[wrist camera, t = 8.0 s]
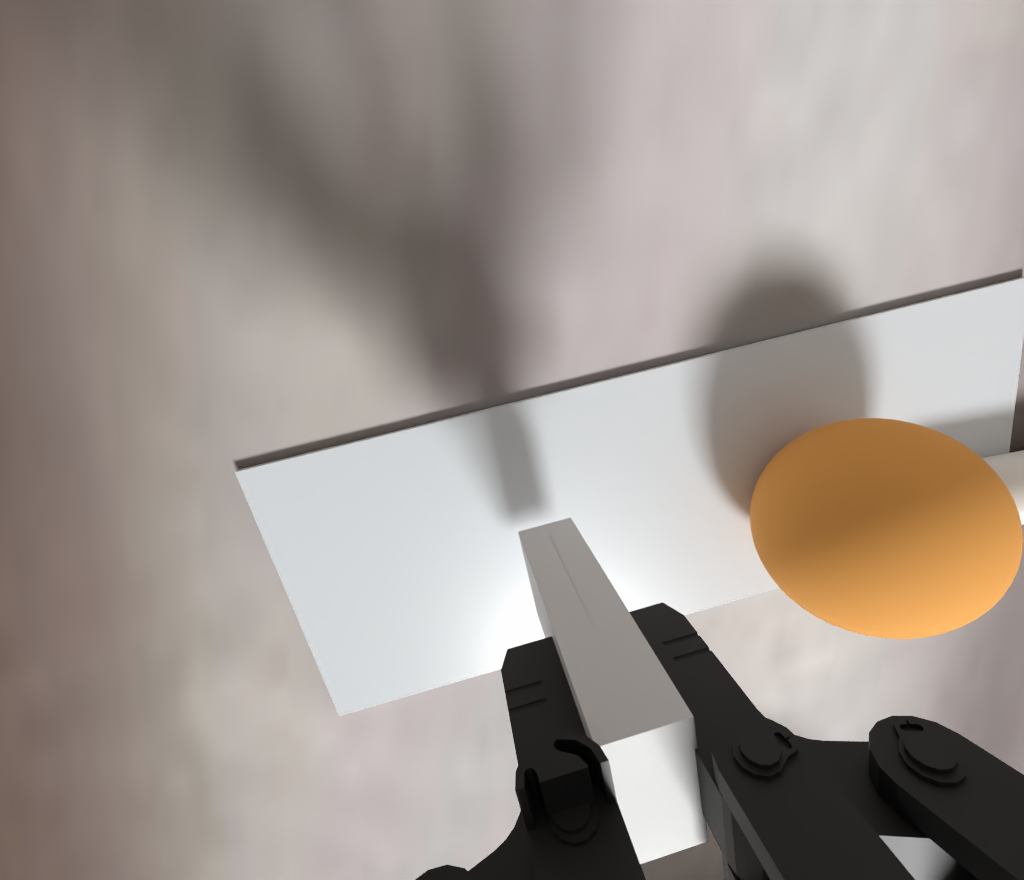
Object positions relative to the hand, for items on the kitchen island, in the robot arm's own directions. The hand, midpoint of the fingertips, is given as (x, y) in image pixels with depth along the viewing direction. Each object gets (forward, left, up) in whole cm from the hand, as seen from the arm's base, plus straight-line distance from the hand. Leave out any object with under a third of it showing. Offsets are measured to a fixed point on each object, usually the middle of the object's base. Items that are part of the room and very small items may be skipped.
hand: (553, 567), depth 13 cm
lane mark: (+4, +3, -2) cm, 5 cm away
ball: (+7, +5, +1) cm, 9 cm away
